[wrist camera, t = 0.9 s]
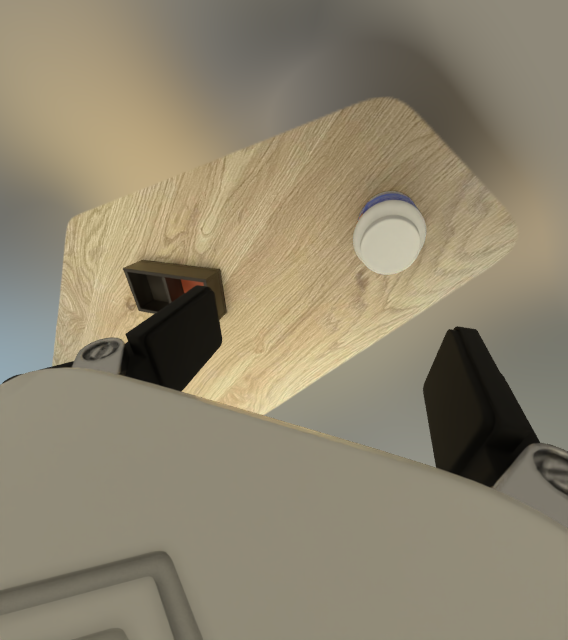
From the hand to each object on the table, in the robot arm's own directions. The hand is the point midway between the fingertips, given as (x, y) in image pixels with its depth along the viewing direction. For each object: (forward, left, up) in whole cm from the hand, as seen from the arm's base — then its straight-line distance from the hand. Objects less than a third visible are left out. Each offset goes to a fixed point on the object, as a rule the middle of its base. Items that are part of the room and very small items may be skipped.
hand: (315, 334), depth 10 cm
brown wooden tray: (+10, -24, -20) cm, 33 cm away
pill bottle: (-1, +3, -20) cm, 21 cm away
